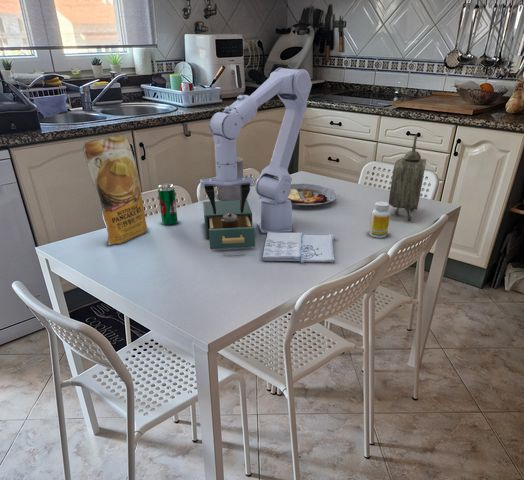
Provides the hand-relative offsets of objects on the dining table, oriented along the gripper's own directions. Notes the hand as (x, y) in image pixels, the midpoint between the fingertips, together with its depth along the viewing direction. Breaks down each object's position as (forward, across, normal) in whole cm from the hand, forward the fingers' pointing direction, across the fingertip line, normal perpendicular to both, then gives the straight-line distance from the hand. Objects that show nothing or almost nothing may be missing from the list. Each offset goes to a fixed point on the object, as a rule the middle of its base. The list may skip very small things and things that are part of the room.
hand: (228, 212), depth 137 cm
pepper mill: (+7, 0, 0) cm, 7 cm away
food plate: (+9, +30, +38) cm, 49 cm away
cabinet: (+9, 0, +11) cm, 14 cm away
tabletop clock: (+9, +59, +16) cm, 62 cm away
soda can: (+9, -18, +20) cm, 28 cm away
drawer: (+8, 0, -2) cm, 8 cm away
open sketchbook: (+9, +19, -8) cm, 23 cm away
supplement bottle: (+9, +45, 0) cm, 46 cm away
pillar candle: (+9, +4, +45) cm, 46 cm away
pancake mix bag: (+9, -31, +10) cm, 33 cm away
